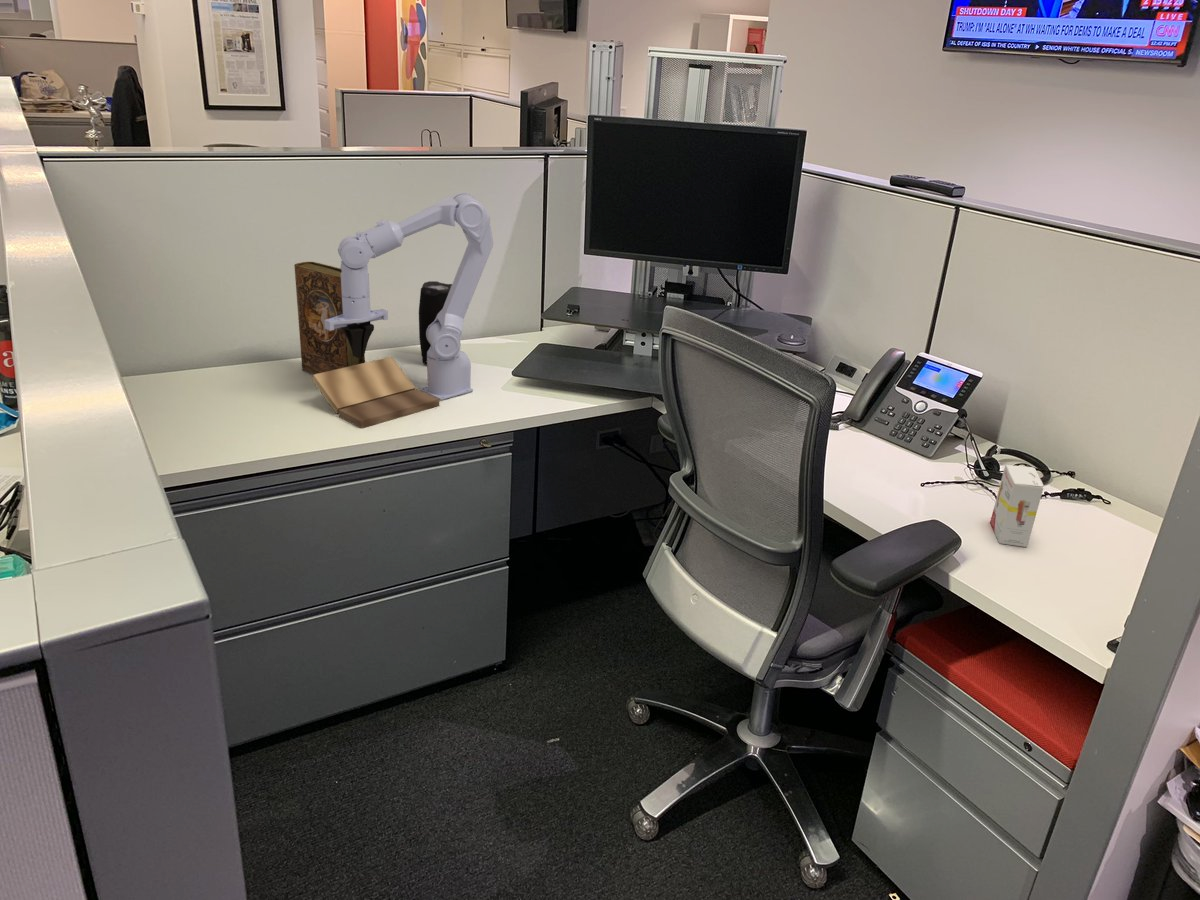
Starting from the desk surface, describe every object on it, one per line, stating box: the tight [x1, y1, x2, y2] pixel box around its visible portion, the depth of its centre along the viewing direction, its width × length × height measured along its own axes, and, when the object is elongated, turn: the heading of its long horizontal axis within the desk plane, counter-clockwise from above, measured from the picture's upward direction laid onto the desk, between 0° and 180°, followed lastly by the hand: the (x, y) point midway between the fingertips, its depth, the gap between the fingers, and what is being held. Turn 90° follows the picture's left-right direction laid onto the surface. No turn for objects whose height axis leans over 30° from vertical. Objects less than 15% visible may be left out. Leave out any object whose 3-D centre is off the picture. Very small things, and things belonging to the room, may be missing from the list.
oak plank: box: [311, 356, 417, 414], centre depth 198 cm, size 20×10×2 cm
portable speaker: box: [418, 280, 453, 364], centre depth 221 cm, size 9×9×20 cm
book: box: [293, 261, 366, 375], centre depth 208 cm, size 16×6×25 cm, turn 58°
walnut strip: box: [338, 388, 440, 429], centre depth 194 cm, size 20×8×2 cm, turn 138°
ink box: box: [989, 464, 1044, 548], centre depth 158 cm, size 9×5×12 cm, turn 168°
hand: (358, 356), depth 197 cm, fingers closed
